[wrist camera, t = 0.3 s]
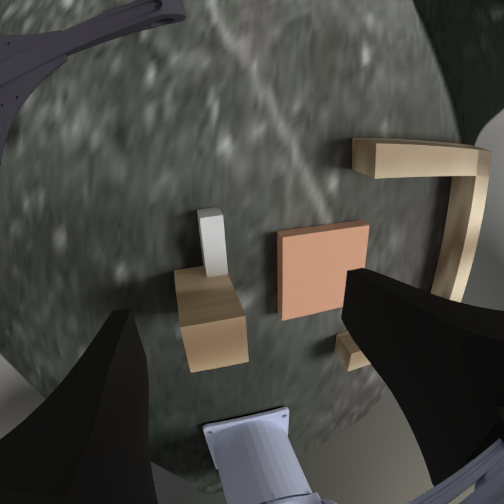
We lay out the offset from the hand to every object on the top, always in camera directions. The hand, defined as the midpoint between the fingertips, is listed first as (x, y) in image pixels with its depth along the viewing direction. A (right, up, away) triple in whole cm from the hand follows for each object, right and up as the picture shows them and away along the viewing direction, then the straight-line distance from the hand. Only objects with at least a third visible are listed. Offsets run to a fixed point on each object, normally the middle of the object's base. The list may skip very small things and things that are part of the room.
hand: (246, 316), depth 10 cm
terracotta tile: (+5, +1, +12) cm, 13 cm away
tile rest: (+13, +2, +13) cm, 19 cm away
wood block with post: (-2, 0, +10) cm, 10 cm away
